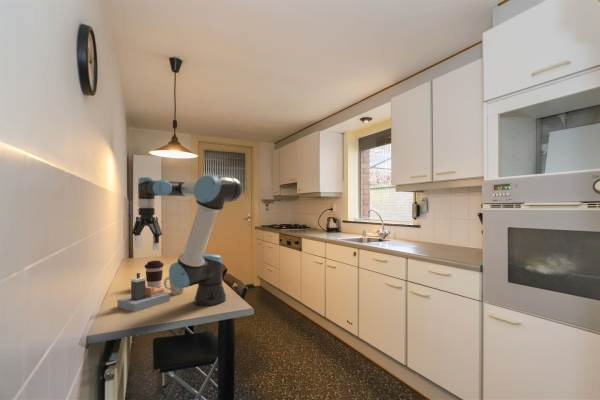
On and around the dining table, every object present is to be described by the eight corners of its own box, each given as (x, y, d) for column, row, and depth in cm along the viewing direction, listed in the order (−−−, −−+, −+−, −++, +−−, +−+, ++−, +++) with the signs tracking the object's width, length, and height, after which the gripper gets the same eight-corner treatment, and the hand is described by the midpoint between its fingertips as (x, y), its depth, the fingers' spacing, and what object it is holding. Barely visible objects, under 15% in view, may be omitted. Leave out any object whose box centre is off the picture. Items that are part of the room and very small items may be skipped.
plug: (136, 308, 145) (136, 274, 145) (130, 306, 147) (130, 273, 147) (145, 305, 149) (145, 272, 149) (140, 303, 151) (139, 271, 151)
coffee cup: (166, 284, 185) (166, 259, 185) (159, 289, 175) (159, 263, 175) (149, 285, 185) (149, 260, 185) (141, 289, 175) (141, 263, 175)
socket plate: (169, 300, 155) (169, 292, 155) (134, 312, 139) (134, 302, 139) (152, 296, 162) (152, 288, 162) (117, 307, 146) (117, 297, 146)
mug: (179, 295, 163) (179, 276, 163) (158, 294, 165) (158, 276, 166) (188, 291, 171) (188, 273, 171) (168, 290, 174) (168, 272, 174)
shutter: (164, 292, 156) (164, 285, 156) (151, 296, 150) (151, 288, 150) (155, 290, 159) (155, 283, 159) (142, 294, 153) (142, 286, 153)
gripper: (169, 207, 156) (169, 249, 156) (137, 207, 168) (138, 246, 168) (156, 207, 150) (156, 251, 150) (124, 207, 161) (124, 248, 161)
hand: (146, 248), depth 159 cm, fingers open, 13 cm apart
